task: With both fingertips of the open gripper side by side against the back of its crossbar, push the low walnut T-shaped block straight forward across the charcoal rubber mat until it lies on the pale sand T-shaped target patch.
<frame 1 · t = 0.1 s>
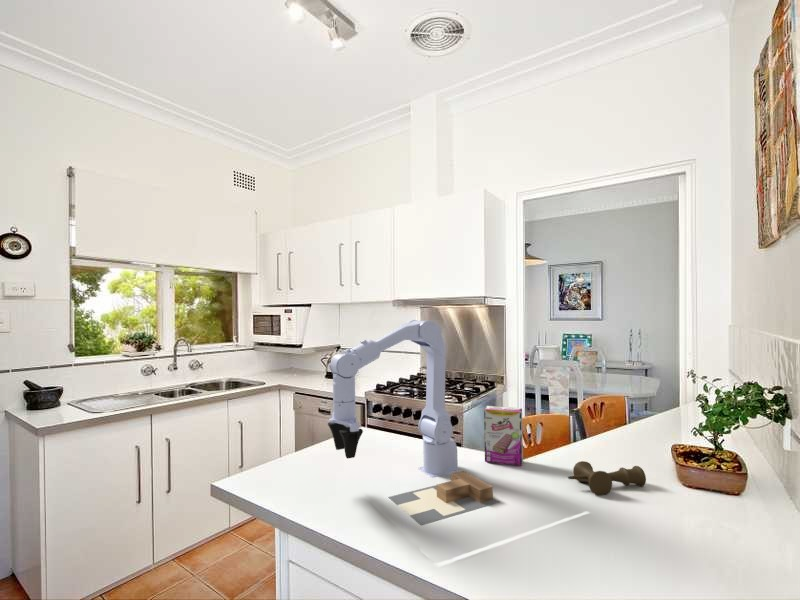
hand: (345, 453, 109), 10 cm above the worktop, tool pointing down, fingers open, 7 cm apart
candy bar box: (504, 462, 128), on the worktop
mat: (443, 501, 102), on the worktop
kendama: (605, 488, 109), on the worktop
t block: (459, 494, 105), resting on mat
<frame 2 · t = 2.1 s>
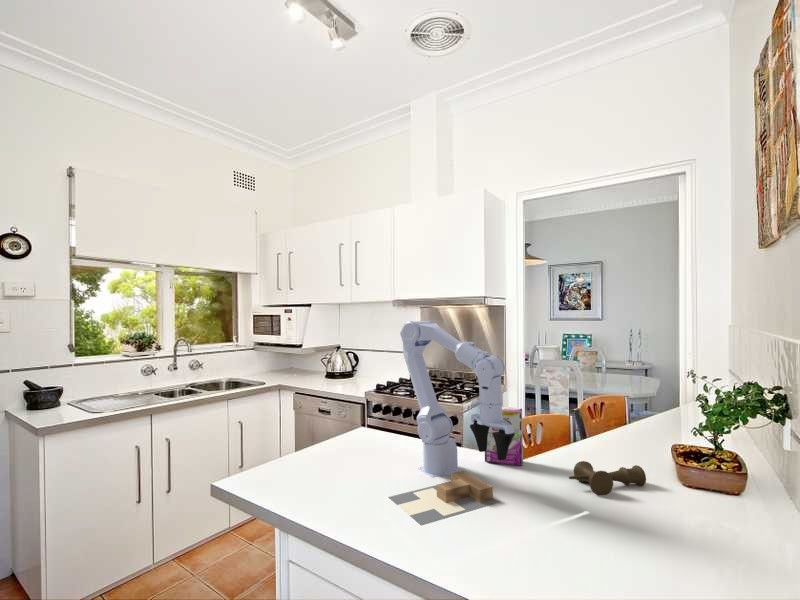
hand: (492, 455, 110), 9 cm above the worktop, tool pointing down, fingers open, 7 cm apart
nothing on the worktop moved.
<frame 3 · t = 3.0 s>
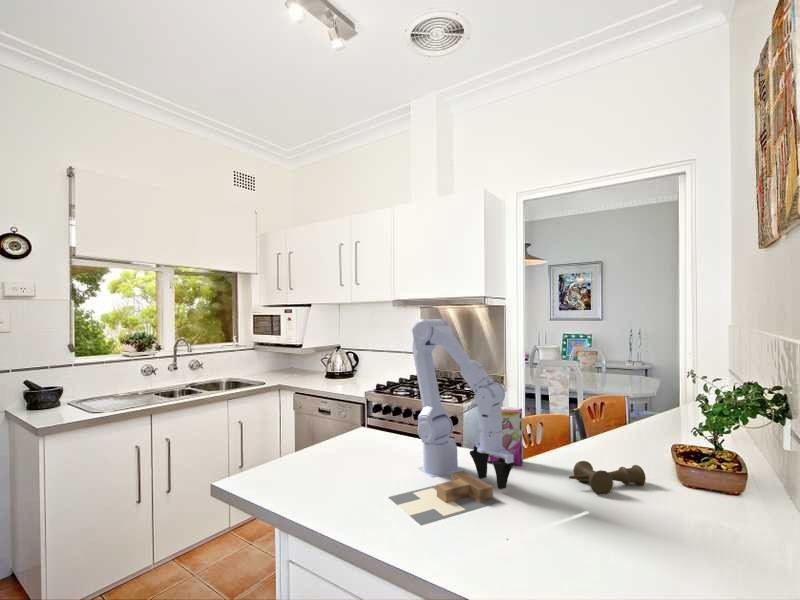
hand: (491, 482, 110), 1 cm above the worktop, tool pointing down, fingers open, 7 cm apart
nothing on the worktop moved.
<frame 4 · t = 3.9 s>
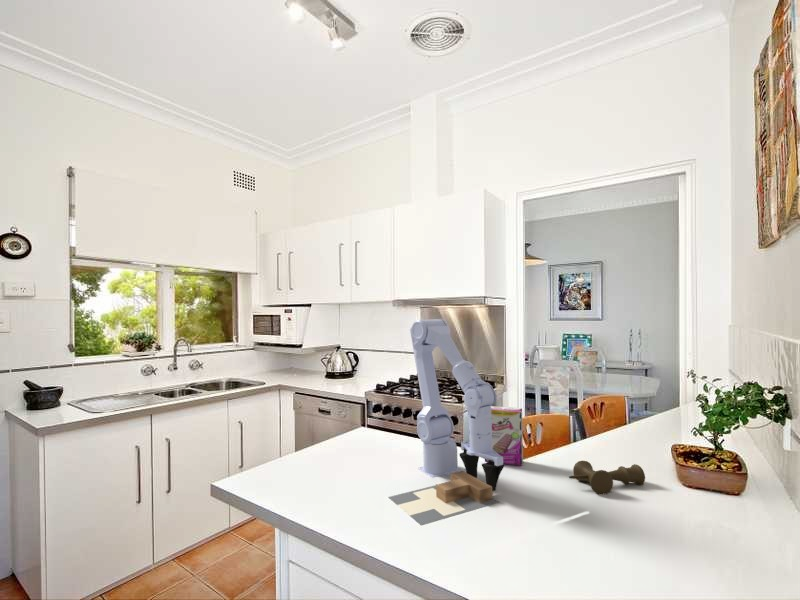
hand: (481, 485, 108), 1 cm above the worktop, tool pointing down
t block: (459, 495, 105), point 1 cm above the worktop, touching gripper
everything else where it was.
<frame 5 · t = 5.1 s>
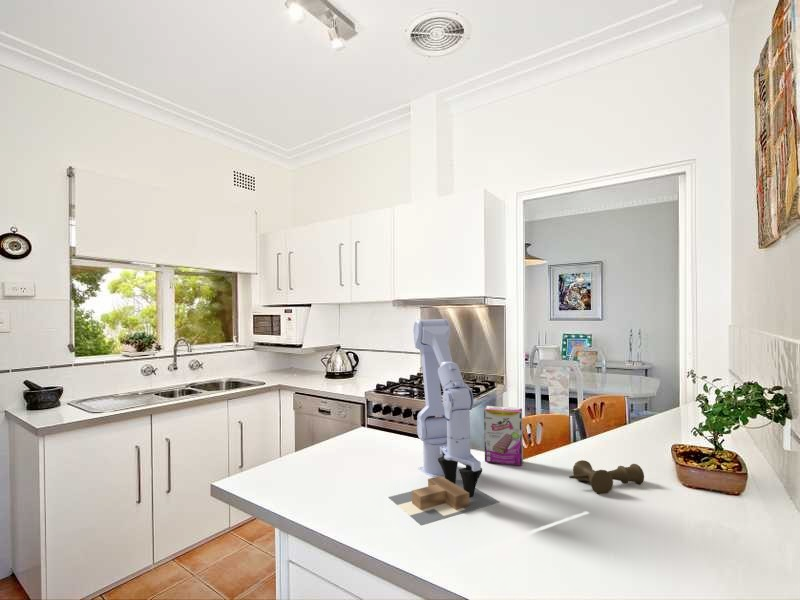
hand: (459, 491, 105), 1 cm above the worktop, tool pointing down
t block: (435, 501, 102), point 1 cm above the worktop, touching gripper
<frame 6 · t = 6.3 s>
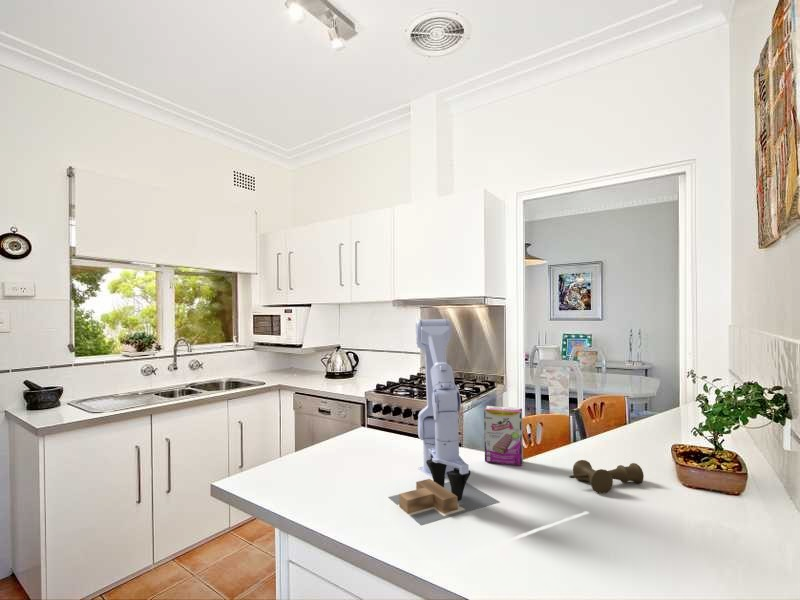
hand: (448, 494, 103), 1 cm above the worktop, tool pointing down
t block: (423, 504, 100), resting on mat, touching gripper
when the fingers open (1 cm above the worktop, at t = 6.7 s): t block stays where it is, resting on mat.
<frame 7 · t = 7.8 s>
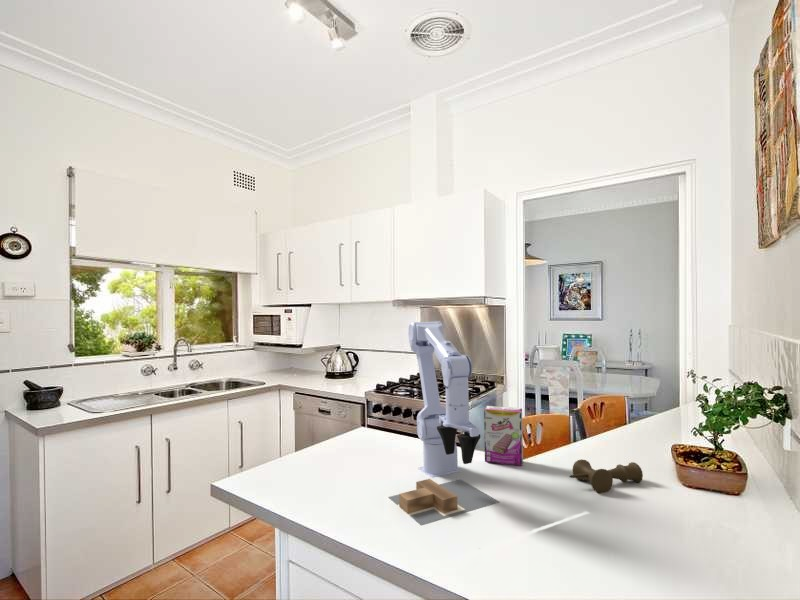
hand: (458, 458, 106), 9 cm above the worktop, tool pointing down, fingers open, 7 cm apart
t block: (423, 504, 100), resting on mat
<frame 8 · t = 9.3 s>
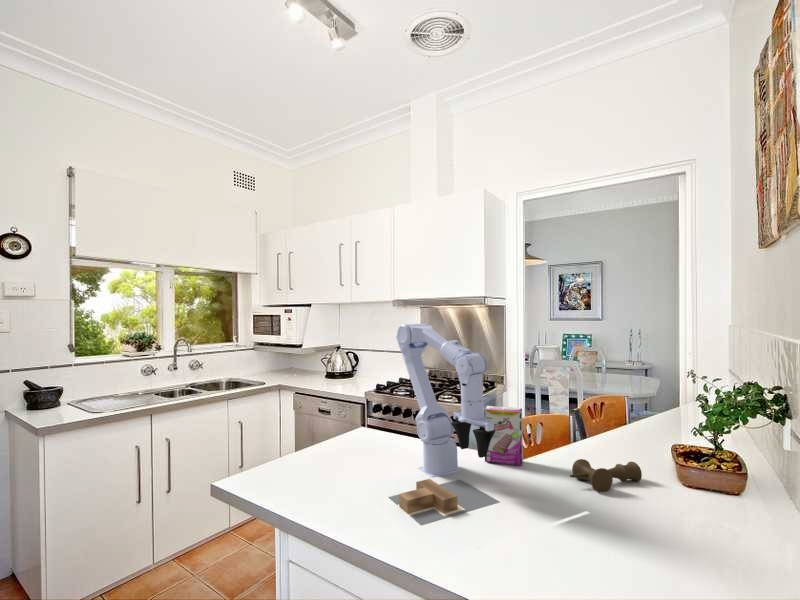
hand: (473, 452, 110), 9 cm above the worktop, tool pointing down, fingers open, 7 cm apart
at the end: t block 0.5 cm from the target spot, point 0.5 cm above the worktop; t block tilted 0°; t block moved 10.5 cm from its start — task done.
